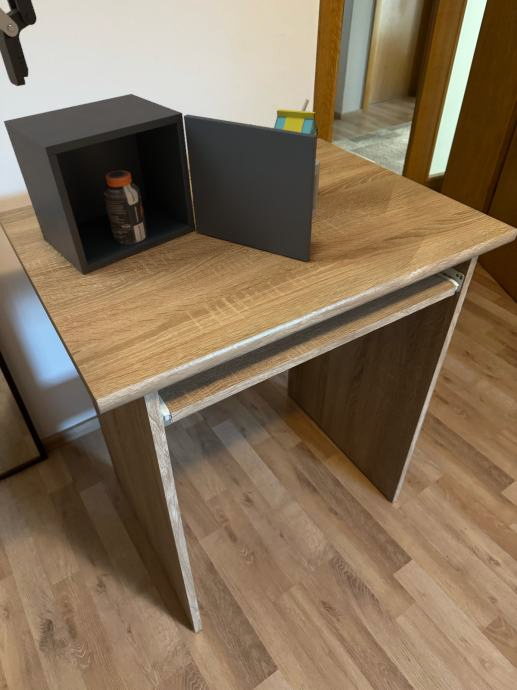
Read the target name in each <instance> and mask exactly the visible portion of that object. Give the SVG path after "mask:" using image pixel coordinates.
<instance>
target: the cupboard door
mask: <svg viewBox="0 0 517 690" xmlns="http://www.w3.org/2000/svg"><path fill="white" fill-rule="evenodd" d="M183 125H184V134H185V142H186V151H187V160H188V169H189V178H190V187H191V196H192V205H193V214H194V223H195V232H196V233H199V234H202V235H206V236H210V237H213V238H218V239H221V240H224V241H229V242H233V243H236V244H240V245H244V246H247V247H251V248H253V249H259V250H262V251H266V252H270V253H272V254H277V255H282V256H284V257H287V258H292V259H296V260H298V261H303V262H309V260H310V258H311V242H312V227H313V220H314V219H315V218H316V217H317V215H318V201H319V187H320V171H321V160H319V159H317V149H316V146H318V134H317V135H314V134H307V133H301V132H295V131H288V130H282V129H276V128H274V127H268V126H262V125H256V124H250V123H244V122H239V121H233V120H225V119H218V118H212V117H205V116H199V115H195V114H185V115H183Z"/></svg>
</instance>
